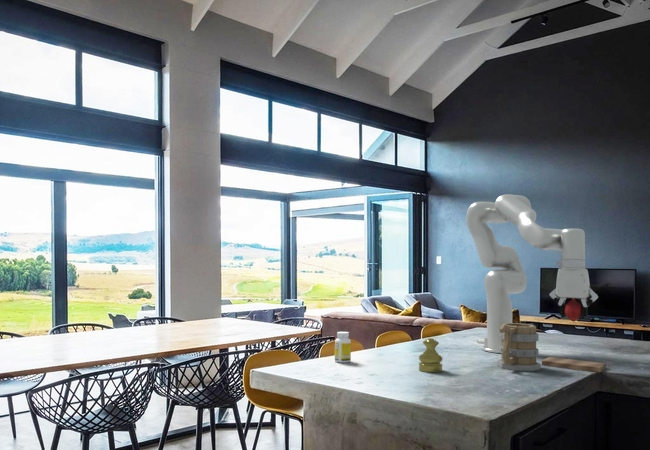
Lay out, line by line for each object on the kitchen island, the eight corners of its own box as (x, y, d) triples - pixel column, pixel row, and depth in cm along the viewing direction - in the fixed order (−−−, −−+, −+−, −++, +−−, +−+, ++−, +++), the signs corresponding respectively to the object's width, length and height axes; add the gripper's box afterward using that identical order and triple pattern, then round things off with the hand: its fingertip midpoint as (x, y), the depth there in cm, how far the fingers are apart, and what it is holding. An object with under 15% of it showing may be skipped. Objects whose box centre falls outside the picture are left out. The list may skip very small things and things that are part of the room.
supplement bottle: (352, 361, 188) (353, 332, 189) (346, 363, 183) (347, 333, 184) (338, 359, 191) (338, 330, 191) (331, 362, 186) (332, 332, 186)
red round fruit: (584, 322, 184) (584, 298, 184) (566, 322, 185) (566, 298, 186) (580, 321, 190) (580, 297, 190) (562, 320, 191) (562, 297, 191)
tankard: (509, 362, 192) (510, 318, 193) (545, 368, 183) (545, 322, 184) (480, 369, 178) (480, 322, 179) (517, 376, 169) (517, 326, 170)
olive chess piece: (428, 373, 170) (428, 340, 171) (413, 369, 177) (414, 337, 177) (447, 371, 173) (447, 339, 174) (432, 367, 180) (432, 336, 181)
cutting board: (541, 365, 188) (541, 360, 188) (549, 361, 196) (549, 356, 196) (600, 372, 177) (600, 367, 177) (605, 367, 185) (605, 363, 185)
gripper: (543, 264, 191) (544, 317, 190) (598, 265, 180) (599, 321, 179) (549, 264, 197) (549, 315, 196) (602, 265, 187) (603, 319, 185)
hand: (573, 317), depth 187 cm, fingers closed on red round fruit, 5 cm apart
